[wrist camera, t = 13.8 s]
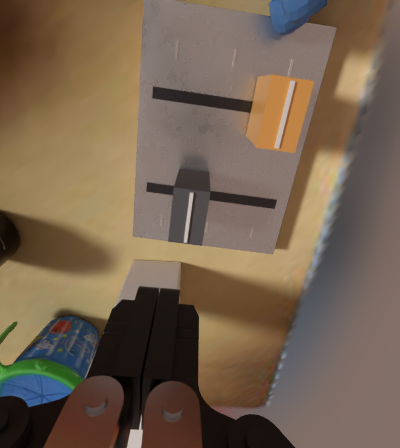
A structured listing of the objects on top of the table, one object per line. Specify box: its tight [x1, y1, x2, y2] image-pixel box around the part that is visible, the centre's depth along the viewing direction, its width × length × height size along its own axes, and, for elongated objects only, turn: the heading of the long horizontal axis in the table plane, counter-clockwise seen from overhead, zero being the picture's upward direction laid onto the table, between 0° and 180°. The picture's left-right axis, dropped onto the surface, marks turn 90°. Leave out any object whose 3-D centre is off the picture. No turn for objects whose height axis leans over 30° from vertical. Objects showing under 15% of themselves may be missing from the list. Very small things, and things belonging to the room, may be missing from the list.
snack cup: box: [0, 316, 99, 407], centre depth 37 cm, size 16×10×10 cm
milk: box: [85, 260, 181, 448], centre depth 28 cm, size 6×6×22 cm
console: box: [133, 0, 337, 254], centre depth 30 cm, size 22×16×2 cm
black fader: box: [168, 168, 211, 246], centre depth 28 cm, size 5×3×6 cm, turn 172°
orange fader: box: [246, 75, 314, 153], centre depth 24 cm, size 5×3×6 cm, turn 172°
